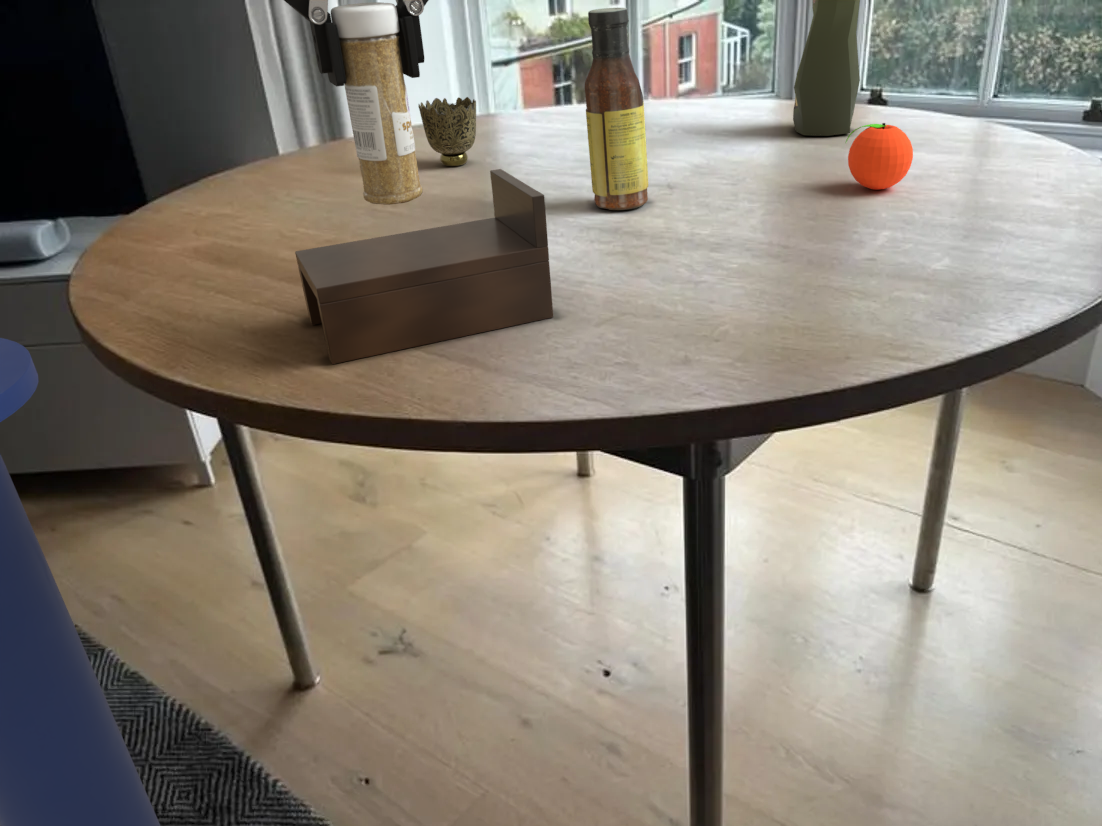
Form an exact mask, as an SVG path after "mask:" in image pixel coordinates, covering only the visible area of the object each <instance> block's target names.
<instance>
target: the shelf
mask: <svg viewBox="0 0 1102 826" xmlns="http://www.w3.org/2000/svg"><path fill="white" fill-rule="evenodd" d="M489 172H490V173H489V174H490V183H491V193H492V202H493V212H494V213H493V214H494V217H489V218H482V219H478V220H472V221H466V222H461V223H454V224H448V225H442V226H436V227H430V228H425V229H419V230H413V231H407V232H401V233H395V234H389V235H382V236H378V237H371V238H366V239H359V240H355V241H354V240H353V241H348V242H343V243H337V244H330V245H324V246H318V247H312V248H306V249H299V250H295V252H294V254H295V259H296V263H297V267H298V268H297V269H298V272H299V278H300V283H301V286H302V287H301V288H302V290H303V295H304V300H305V304H306V309H307V314H308V319H309V321H310V323H311V325H312V326H315V325H320V324H321V326H322V330H323V334H324V340H325V344H326V349H327V355H328V358H329V361H330V363H331V364H332V365H337V364H340V363H345V362H350V361H355V360H359V359H364V358H368V357H373V356H377V355H383V354H387V353H392V352H397V351H400V350H405V349H411V348H415V347H421V346H425V345H429V344H433V343H434V344H435V343H439V342H444V341H449V340H453V339H457V338H462V337H467V336H471V335H477V334H480V333H485V332H491V331H494V330H500V329H504V328H509V327H513V326H514V327H515V326H519V325H523V324H529V323H533V322H537V321H542V320H546V319H551V318H554V307H553V295H552V293H553V292H552V281H551V280H552V279H551V268H550V267H551V266H550V253H549V239H548V225H547V212H546V202H545V201H546V199H545V194H543V193H541V192H540V191H538V190H537V189H535V188H534V187H531V186H530V185H528V184H527V183H525V182H523V181H522V180H520V179H518V178H517V177H516V176H514V175H512V174H510V173H508V172H507V171H505V170H503V169H501V168H497V169H491V170H490V171H489Z"/></svg>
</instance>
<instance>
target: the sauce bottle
mask: <svg viewBox="0 0 1102 826" xmlns="http://www.w3.org/2000/svg"><path fill="white" fill-rule="evenodd" d="M587 18H588V19H587V21H588V26H589V28H590V33H591V35H590V36H591V46H592V51H591V54H592V61H591V66H590V68H589V71H588V73H587V76H586V77H585V82H584V94H585V96H584V97H585V106H586V109H585V117H586V130H587V141H588V144H587V145H588V154H589V165H590V178H591V179H590V180H591V189H592V193H593V195H594V203H595V205H596V207H597V208H599V209H604V210H608V211H628V210H633V209H637V208H640V207H642V206H644V205H646V204H647V203H648V199H649V197H648V194H649V193H648V188H649V170H648V153H647V137H646V136H647V135H646V120H645V118H646V117H645V102H644V101H645V100H644V94H643V90H642V87H641V84H640V80H639V77H638V75H637V74H636V72H635V69H634V65H633V62H632V58H631V56H630V47H629V36H628V24H629V12H628V8H627V7H606V8H596V9H591V10H589V11H588V13H587Z"/></svg>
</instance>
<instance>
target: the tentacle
mask: <svg viewBox="0 0 1102 826" xmlns="http://www.w3.org/2000/svg"><path fill="white" fill-rule="evenodd" d="M860 2H861V0H812V13H813V16H812V19H811V23H810V27H809V32H808V35H807V38H806V42H805V45H804V48H803V51H802V55H801V59H800V62H799V64H798V65H799V66H798V69H797V72H796V77H795V81H794V85H793V90H794V105H793V110H792V111H793V113H792V114H793V115H792V121H793V126H794V130H795V132H796V133H798V134H800V135H802V136H820V137H823V136H824V137H830V136H834V135H835V136H836V135H844V134H850V133H851V125H852V121H853V118H854V117H853V116H854V113H855V107H856V103H857V97H858V92H859V87H860V81H861V77H860V65H859V51H858V39H857V37H858V36H857V31H858V21H859V20H858V19H859V11H860Z"/></svg>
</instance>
